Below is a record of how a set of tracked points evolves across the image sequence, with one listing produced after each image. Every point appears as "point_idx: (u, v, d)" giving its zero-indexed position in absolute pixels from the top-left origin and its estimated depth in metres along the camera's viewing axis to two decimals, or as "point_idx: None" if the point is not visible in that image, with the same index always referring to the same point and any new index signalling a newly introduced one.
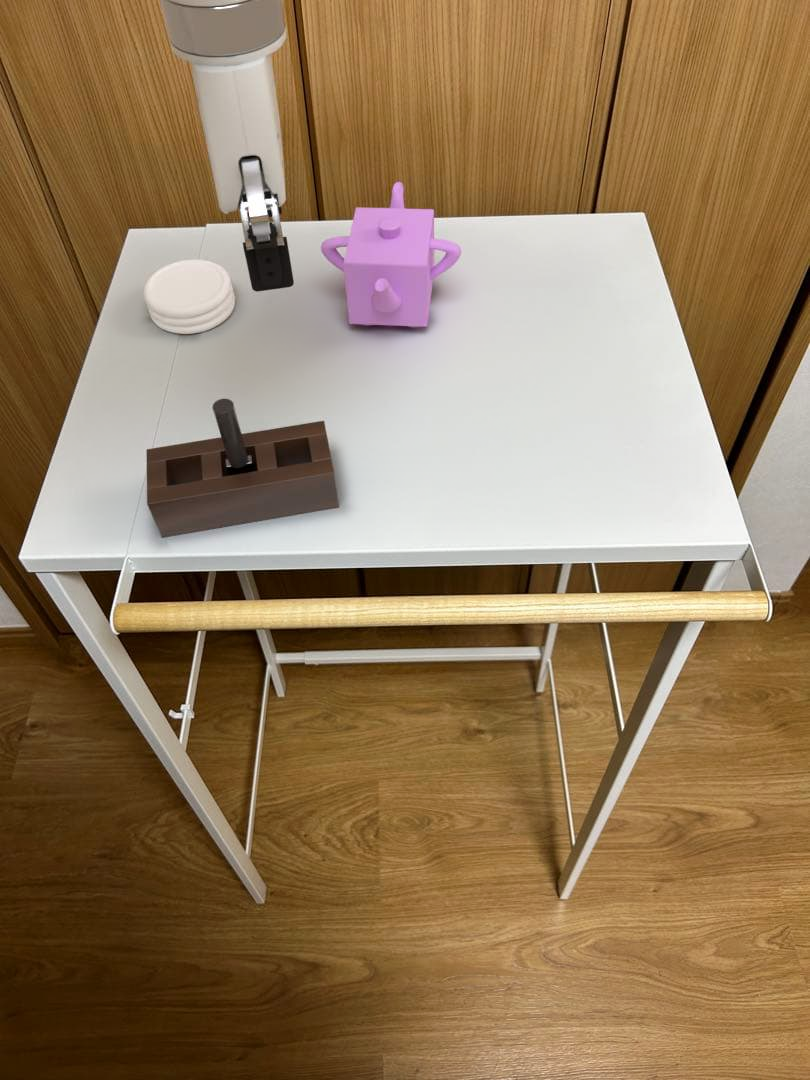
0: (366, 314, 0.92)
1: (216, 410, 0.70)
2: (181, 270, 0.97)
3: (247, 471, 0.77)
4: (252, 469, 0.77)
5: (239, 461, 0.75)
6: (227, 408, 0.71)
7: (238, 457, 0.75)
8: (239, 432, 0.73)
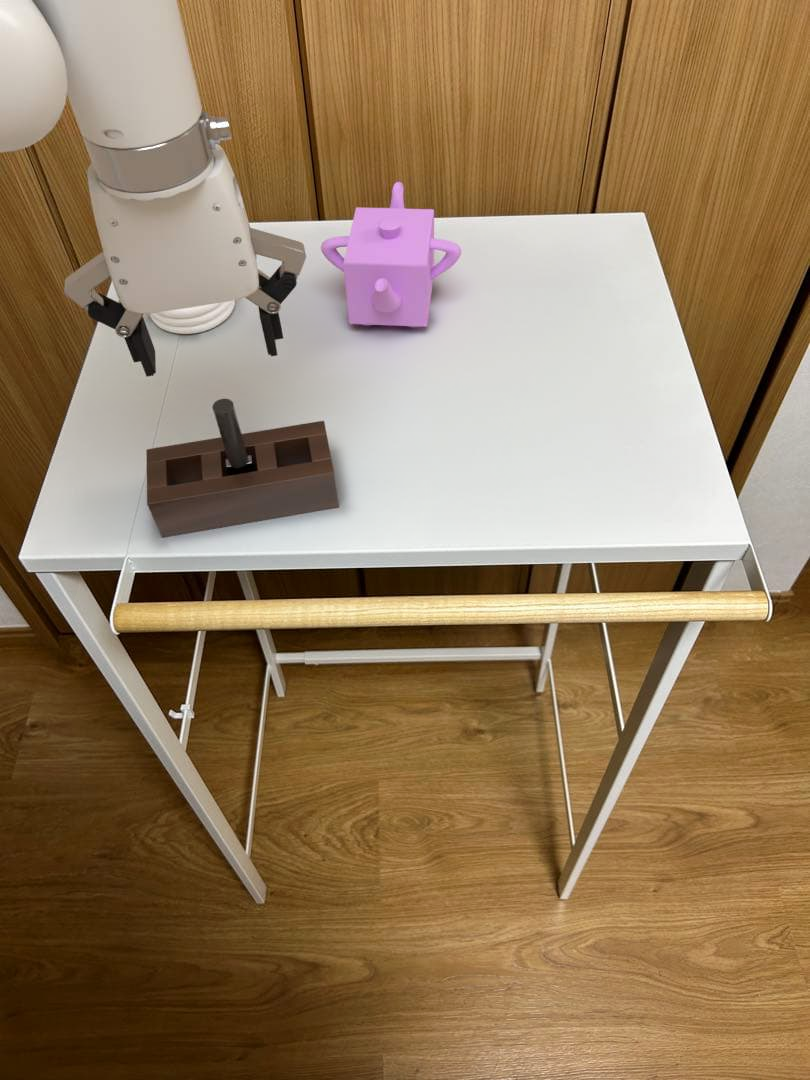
0: (366, 314, 0.92)
1: (216, 410, 0.70)
2: None
3: (247, 471, 0.77)
4: (252, 469, 0.77)
5: (239, 461, 0.75)
6: (227, 408, 0.71)
7: (238, 457, 0.75)
8: (239, 432, 0.73)
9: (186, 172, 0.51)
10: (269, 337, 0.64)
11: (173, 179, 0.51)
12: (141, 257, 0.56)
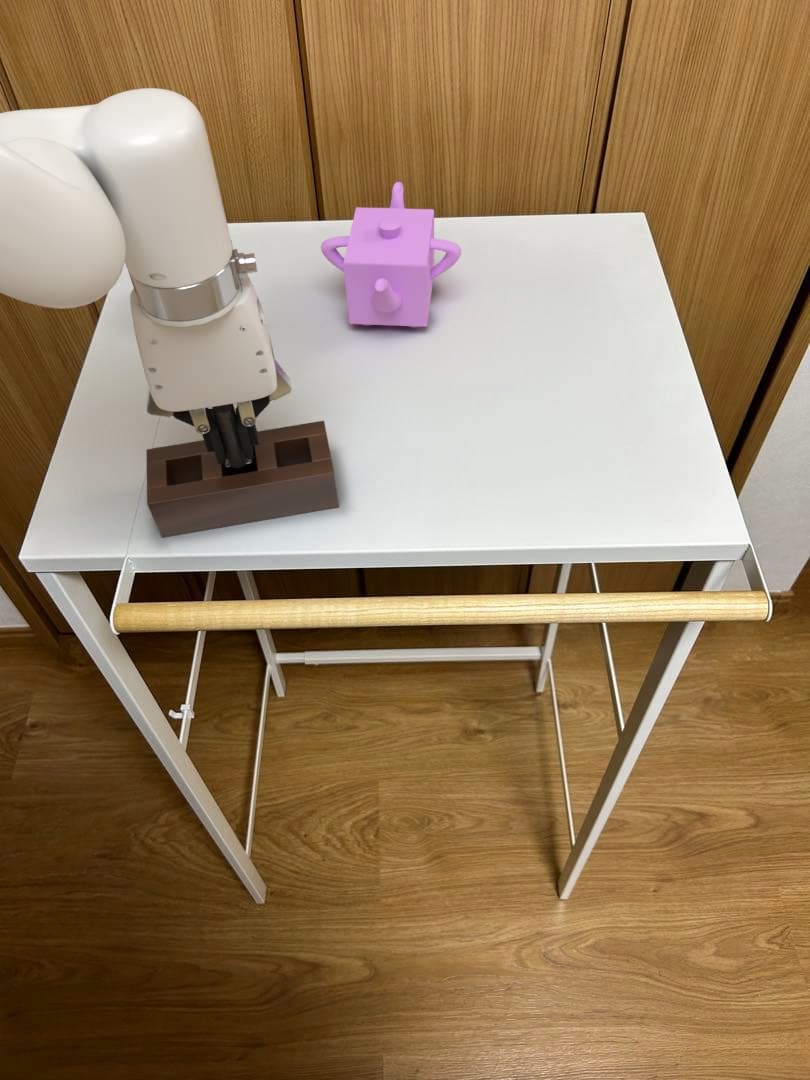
0: (366, 314, 0.92)
1: (216, 410, 0.70)
2: None
3: (247, 471, 0.77)
4: (252, 469, 0.77)
5: (239, 461, 0.75)
6: (227, 408, 0.71)
7: (238, 457, 0.75)
8: None
9: (218, 303, 0.59)
10: (246, 445, 0.73)
11: (207, 310, 0.59)
12: (175, 368, 0.64)
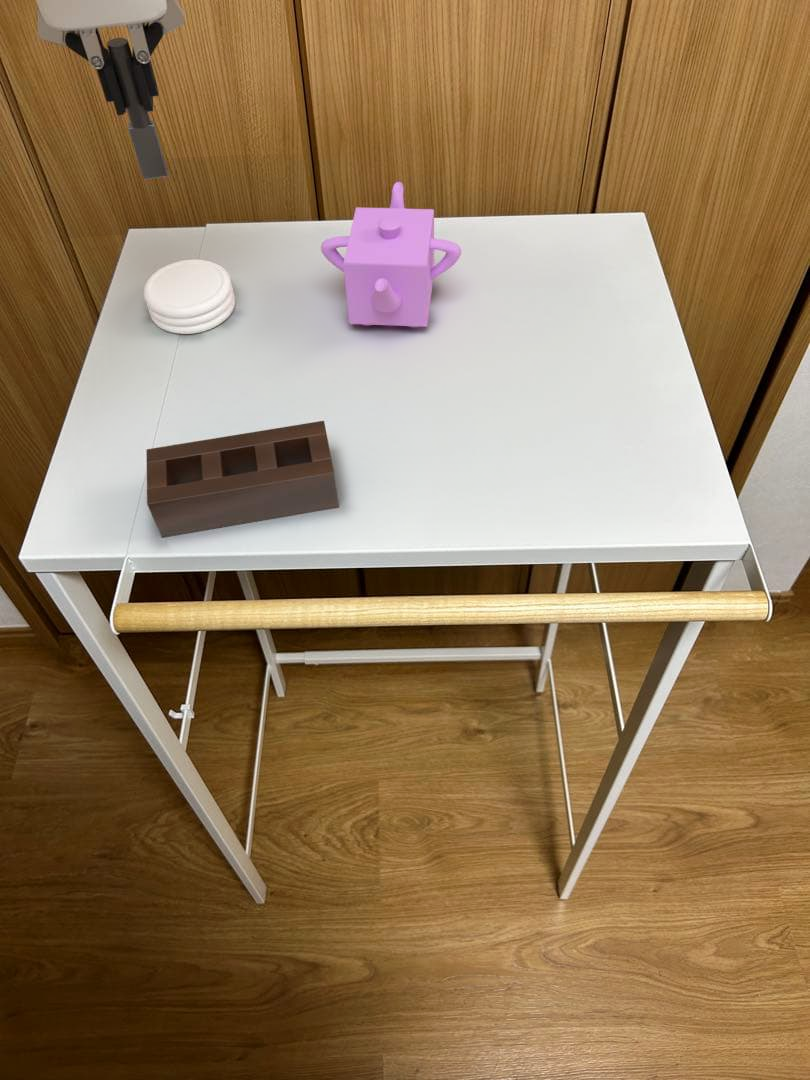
0: (366, 314, 0.92)
1: (110, 45, 0.70)
2: (181, 270, 0.97)
3: (150, 137, 0.77)
4: (155, 135, 0.77)
5: (140, 119, 0.75)
6: (121, 43, 0.70)
7: (138, 113, 0.75)
8: None
9: None
10: (143, 89, 0.72)
11: None
12: None
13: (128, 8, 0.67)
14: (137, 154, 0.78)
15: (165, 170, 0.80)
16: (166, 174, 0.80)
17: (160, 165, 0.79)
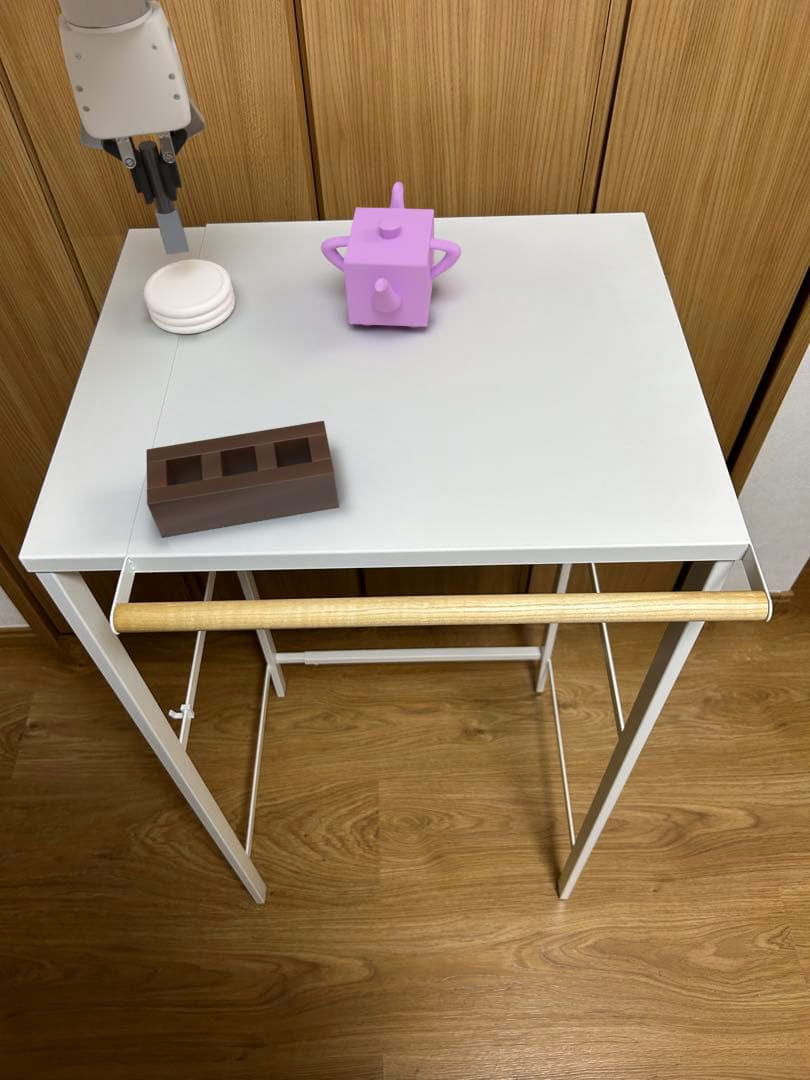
0: (366, 314, 0.92)
1: (141, 148, 0.82)
2: (181, 270, 0.97)
3: (174, 220, 0.88)
4: (178, 218, 0.88)
5: (165, 207, 0.86)
6: (150, 146, 0.82)
7: (164, 202, 0.86)
8: None
9: (130, 13, 0.70)
10: (169, 183, 0.84)
11: (120, 18, 0.70)
12: (99, 86, 0.75)
13: (158, 121, 0.78)
14: (162, 234, 0.89)
15: (186, 247, 0.91)
16: (187, 250, 0.91)
17: (182, 243, 0.90)
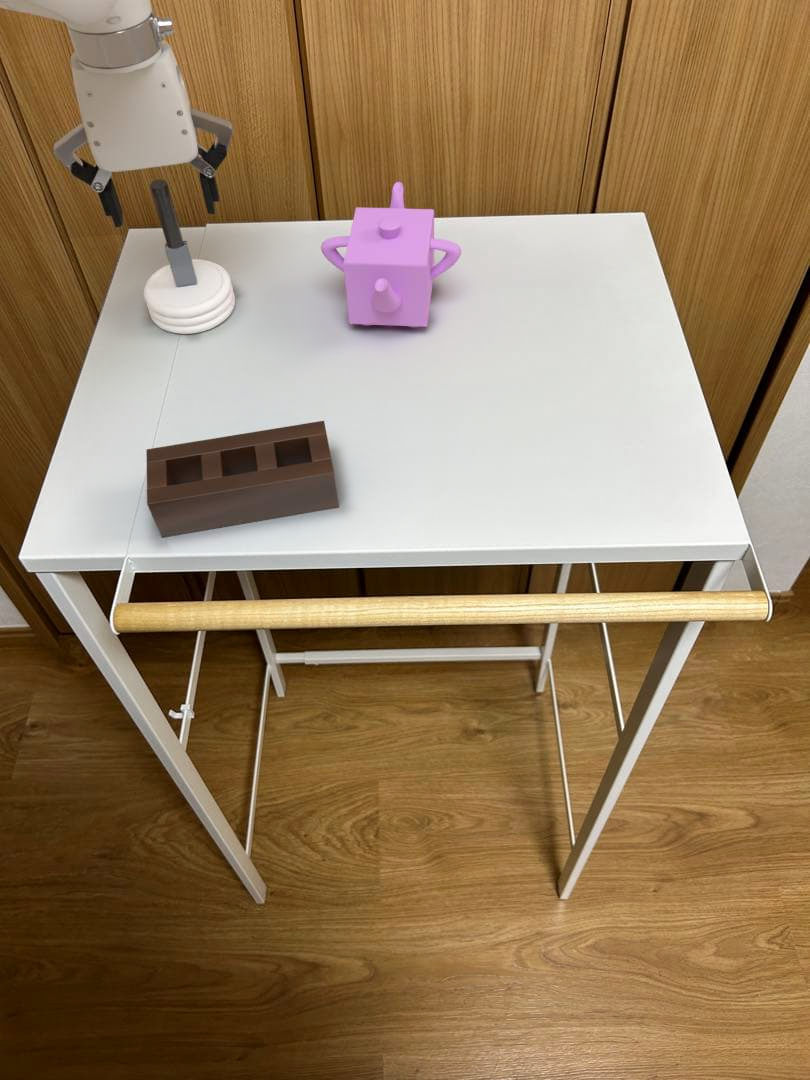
0: (366, 314, 0.92)
1: (153, 187, 0.85)
2: None
3: (183, 254, 0.92)
4: (187, 252, 0.91)
5: (175, 241, 0.90)
6: (161, 185, 0.85)
7: (174, 237, 0.89)
8: (173, 212, 0.88)
9: (140, 54, 0.73)
10: (207, 197, 0.86)
11: (131, 59, 0.72)
12: (109, 123, 0.77)
13: (166, 155, 0.81)
14: (171, 267, 0.93)
15: (195, 279, 0.94)
16: (195, 282, 0.95)
17: (190, 275, 0.94)
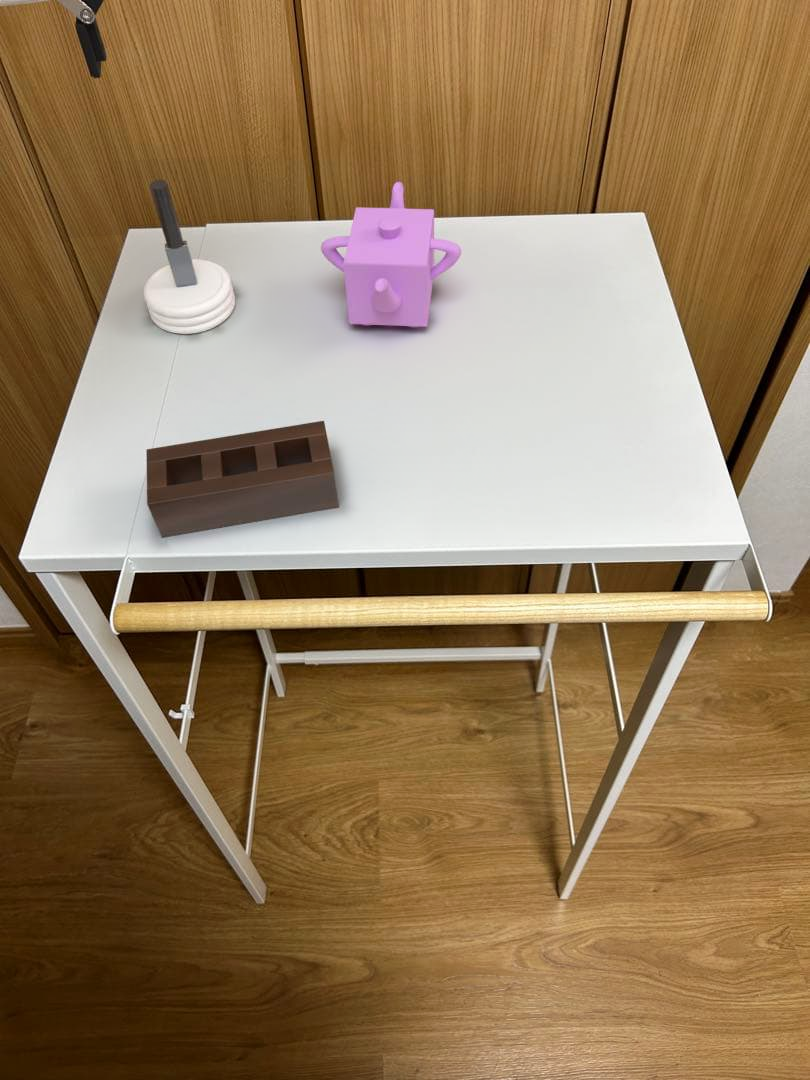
0: (366, 314, 0.92)
1: (152, 187, 0.85)
2: None
3: (183, 254, 0.92)
4: (187, 252, 0.91)
5: (175, 242, 0.90)
6: (161, 185, 0.85)
7: (174, 237, 0.89)
8: (173, 212, 0.87)
9: None
10: (88, 52, 0.66)
11: None
12: None
13: None
14: (172, 267, 0.93)
15: (195, 279, 0.94)
16: (195, 282, 0.95)
17: (190, 275, 0.94)
